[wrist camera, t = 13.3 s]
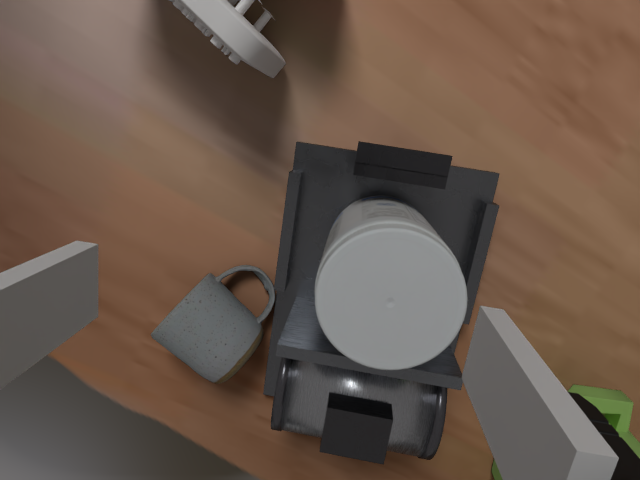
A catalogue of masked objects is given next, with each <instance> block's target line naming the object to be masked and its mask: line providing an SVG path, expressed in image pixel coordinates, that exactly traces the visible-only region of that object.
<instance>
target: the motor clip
mask: <svg viewBox="0 0 640 480" xmlns="http://www.w3.org/2000/svg"><path fill="white" fill-rule="evenodd" d="M451 160H452V156H450V155H443V154H437V153H430V152H424V151H418V150H411V149H405V148H398V147H392V146H385V145H379V144H372V143H366V142H360V141H359V143H358V149H357V151H354V150H348V149H342V148H335V147H329V146H323V145H316V144H310V143H303V142H296V149H295V157H294V165H293V170H292V171H290V172H289V177H288V185H287V193H286V200H285V208H284V216H283V224H282V231H281V239H280V247H279V254H278V262H277V270H276V278H275V285H274V290H277V294H276V301H275V309H274V317H273V324H272V332H271V339H270V347H269V355H268V362H267V370H266V377H265V385H264V393H263V394H265V395H270V396H274V401H273V408H272V417H271V429H272V430H277V431H282V430H284V431H289V432H294V433H299V434H304V435H310V436H315V437H320V438H321V445H320V452H323V453H328V454H333V455H338V456H344V457H349V458H354V459H359V460H364V461H369V462H374V463H379V464H384V460H385V455H386V451H392V452H397V453H402V454H407V455H413V456H417V457H418V458H421V459H426V460H431V459H432V458H433V457H434V455H435V454H436V452H437V449H438V447H439V444H440V440H441V437H442V432H443V427H444V421H445V414H446V403H447V388H451V389H457V390H461V387H462V383H463V380H462V373H461V371H460V368H459V366H458V363H457V361H456V358H455V356H454V352H455V348H456V344H457V340H458V336H459V332H460V330H459V332H458V334H457V335H456V337H455V338H454V340H453V341H452V342H451V344H450V345H449V346H448V347H447V348H446V349H445V350H444V351H442V352H441V353H440V354H439V355H437V356H436V357H435V358H433V359H431V360H429V361H428V362H425V363H423V364H421V365H418V366H415V367H412V368H408V369H401V370H380V369H374V368H370V367H367V366H364V365H361V364H359V363H357V362H354V361H353V360H351V359H349V358H348V357H346V356H345V355H343V354H342V353H341V352H339V351H338V350H337V349H336V348H335V347H334V346H333V345H332V344H331V342H330V341H329V340H328V338H327V337H326V335H325V334H324V332H323V330H322V328H321V326H320V324H319V321H318V318H317V314H316V309H315V281H316V276H317V272H318V268H319V265H320V262H321V259H322V255H323V252H324V249H325V245H326V242H327V239H328V236H329V232H330V230H331V228H332V225H333V223H334V222H335V220H336V219H337V217H338V216H339V215H340V213H341V212H342V211H343V210H344V209H345V208H347V207H348V206H349V205H351V204H352V203H354V202H355V201H358V200H360V199H363V198H366V197H370V196H378V195H384V196H392V197H396V198H399V199H401V200H403V201H405V202H407V203H409V204H410V205H412V206H413V207H415V208H416V209H417V210H418V211H419V212H420V213H421V214H422V215H423V217H424V218H425V219H426V220H427V222H428V223H429V224H430V225H431V226H432V227H433V229H434V230H435V231H436V232H437V234H438V235H439V236H440V237H441V239H442V240H443V241H444V242H445V244H446V245H447V246H448V247H449V249H450V250H451V251H452V253H453V254H454V256H455V257H456V259H457V261H458V263H459V266H460V268H461V271H462V274H463V276H464V279H465V283H466V288H467V310H466V314H465V318H464V321H463V323H464V324H469V321H470V317H471V314H472V310H473V306H474V302H475V298H476V294H477V290H478V286H479V282H480V278H481V275H482V271H483V267H484V263H485V259H486V255H487V251H488V247H489V243H490V240H491V236H492V232H493V228H494V224H495V220H496V216H497V212H498V208H499V205H497V204H496V203H494V202H493V198H494V194H495V190H496V186H497V182H498V178H499V173H495V172H489V171H482V170H476V169H470V168H463V167H457V166H450V165H451Z"/></svg>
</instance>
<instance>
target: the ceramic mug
mask: <svg viewBox="0 0 640 480" xmlns="http://www.w3.org/2000/svg"><path fill="white" fill-rule="evenodd" d="M246 270H247V271H253V272H254V273H255V274H256V275H257V276H258V277H259V279H260V280H261V281H262V283H263V284H264V288H265V289H266V290H267V291H268V293H269V295H270V296H269V302H268V304H267V306H266V308H265V310H264V311H263V313H262V314H261V315H260V316H259V317H257V318H256V317H255V316H254V315H253V314H252V313H251V311H249V310H248V309H247V308H246V307H245V306H244V305H243V304H242V303H241V302H240V301H239V300H238V299H237V298H236V297H235V296H234V295H233V294H232V293H231V292H230V291H229V290H228V289H227V288H226V287H225V286H224V285H223V284H222V283H221V280H222V279H223V278H224V277H226V276H228V275H230V274H232V273H234V272H237V271H246ZM274 301H275V290H274V286H273V284H272V282H271V280H270V279H269V277H268V276H267V275H266V274H265V273H264V272H263V271H262V270H261V269H259V268H257V267H254V266H250V265H241V266H236V267H233V268H231V269H229V270H227V271H226V272H224V273H222V274H221V275H220V276H218V277H215V276H214V275H213V274H211V273H209V274H208V275H206V276H205V277H204V278H203V279H202V280H201V282H200V283H199V284H197V285H196V286H195V287H194V288H193V289H192V290H191V291H190V293H188V294H187V295H186V297H185V298H184V299H183V300H182V301H181V302H180V303H179V304H178V305H177V306H176V307H175V308H174V309H173V310H172V311H171V312H170V313H169V314H168V315H167V317H166V318H165V319H164V320H163V321H162V322H161V323H160V324H159V325H158V326H157V328H156V329H155V330H154V331H153V332H152V333H151V336H152V338H153V339H154V340H156V341H157V342H158V343H160V344H161V345H162V346H164V347H165V348H166V349H167V350H169V351H170V352H171V353H173V354H174V355H175V356H176V357H178V358H179V359H180V360H182V361H183V362H184V363H186V364H187V365H188V366H190V367H191V368H192V369H193V370H194V371H195V372H197V373H198V374H199V375H201V376H202V377H204V378H205V379H207V380H209V381H211V382H213V383H217V384H218V383H223V382H225V381H227V380H228V379H230V378H231V377H232V376H233V375H235V374H236V373H237V372H238V371H239V369H240V368H241V367H242V366H243V365H244V364H245V363H246V362H247V361H248V359H249V358H250V357H251V356H252V354H253V353H254V352H255V350H256V349H257V347H258V346H259V344H260V342H261V340H262V338H263V327H262V325H261V323H262V321H263V320H264V319H265V318H266V317H267V316H268V314H269V312H270V311H271V309H272V307H273V304H274Z"/></svg>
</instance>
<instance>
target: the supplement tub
mask: <svg viewBox="0 0 640 480" xmlns="http://www.w3.org/2000/svg"><path fill="white" fill-rule="evenodd" d="M315 309H316V314H317V318H318V321H319V324H320V326H321V328H322V330H323V332H324V334H325V335H326V337H327V338H328V340H329V341H330V342H331V344H332V345H333V346H334V347H335V348H336V349H337V350H338V351H339V352H341V353H342V354H343V355H345V356H346V357H348V358H349V359H351V360H353V361H354V362H357V363H359V364H361V365H364V366H367V367H370V368H374V369H380V370H401V369H408V368H412V367H415V366H418V365H421V364H423V363H425V362H428V361H429V360H431V359H433V358H435V357H436V356H437V355H439V354H440V353H441V352H442V351H444V350H445V349H446V348H447V347H448V346H449V345H450V344H451V342H452V341H453V340H454V338H455V337H456V335H457V334H458V332H459V330H460V328H461V326H462V324H463V321H464V318H465V314H466V310H467V288H466V283H465V279H464V276H463V274H462V271H461V268H460V266H459V263H458V261H457V259H456V257H455V256H454V254H453V253H452V251H451V250H450V249H449V247H448V246H447V245H446V244H445V242H444V241H443V240H442V239H441V237H440V236H439V235H438V234H437V232H436V231H435V230H434V229H433V227H432V226H431V225H430V224H429V223H428V222H427V220H426V219H425V218H424V217H423V215H422V214H421V213H420V212H419V211H418V210H417V209H416V208H415V207H413V206H412V205H410V204H409V203H407V202H405V201H403V200H401V199H399V198H396V197H392V196H384V195H378V196H370V197H366V198H363V199H360V200H358V201H355V202H354V203H352V204H351V205H349V206H348V207H347V208H345V209H344V210H343V211H342V212H341V213H340V215H339V216H338V217H337V219H336V220H335V222H334V223H333V225H332V228H331V230H330V232H329V236H328V239H327V242H326V245H325V249H324V252H323V255H322V259H321V262H320V265H319V268H318V272H317V276H316V281H315Z"/></svg>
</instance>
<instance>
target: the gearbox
mask: <svg viewBox="0 0 640 480" xmlns="http://www.w3.org/2000/svg"><path fill="white" fill-rule="evenodd" d="M567 392H572V393H578V394H580V395H581V396H582V397H584V398H585V399H586V400H588V401H589V402H590V403H592V404H593V405H594V406H596V407H597V408H598V410H599V411H600V412H601V413H602V414H603V415H604V417H605V418H606V419H607V420H608V421H609V425H612V426H613V427H614V429H615V430H616V431H617V432H618V433H619V437H622V438H623V439H624V441H625V442H626V443H627V444H628V445H629V447H630V448H631V449H632V450H633V451H634V452H635V454H636V455H637V456H638V457H639V458H640V443H639V442H638V440H637V439H636V438H635V437H634V436H633V435H632V434H631V433H630V431H629V430H628V429H629V424H630V419H631V414H632V408H633V402H632V401H631V400H630V399H629V398H628V397H627V396H626V395H625V394H624V393H623V392H622V391H619V390H612V389H604V388H597V387H589V386H581V385H574V384H573V386H572V387H571V388H570V389H569V390H568V391H567ZM492 474H493V477H494V479H495V480H503V479H502V477H501V474H500V472H499V469H498V467H497V464H496V462H495V459H494V461H493V466H492Z"/></svg>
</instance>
